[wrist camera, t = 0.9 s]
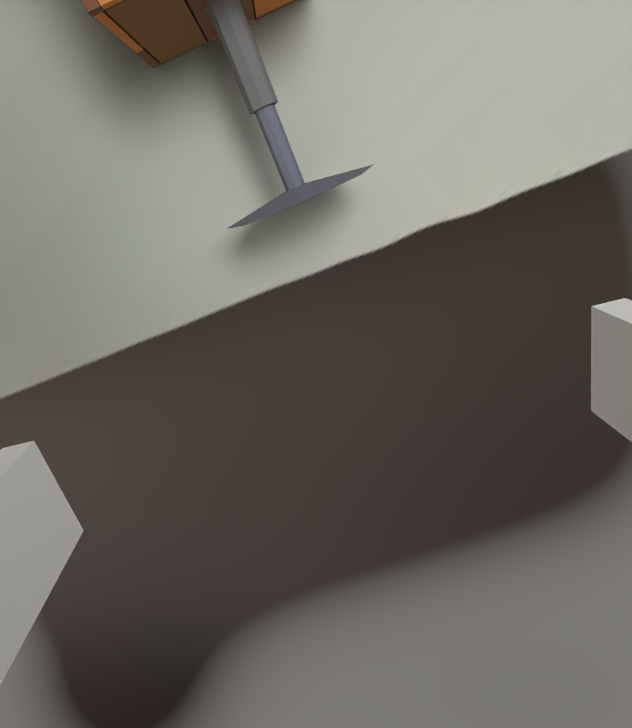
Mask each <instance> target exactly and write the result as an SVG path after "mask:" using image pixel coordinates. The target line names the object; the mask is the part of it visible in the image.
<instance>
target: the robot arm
mask: <svg viewBox="0 0 632 728" xmlns="http://www.w3.org/2000/svg"><path fill="white" fill-rule="evenodd" d="M591 346H592V347H591V350H592V351H591V411H592V412H594V413H595V414H596V415H597V416H599V417H600V418H601V419H603V420H604V421H605V422H607V423H608V424H609V425H610V426H612V427H613V428H614V429H616V430H617V431H618V432H619V433H621V434H622V435H624V436H625V437H626V438H627V439H628V440H630V441H631V442H632V301H631V300H629V299H626V298H624V299H620V300H616V301H611V302H607V303H603V304H599V305H595V306H592V340H591ZM82 532H83V529H82V527H81V525H80V523H79V522H78V520H77V518H76V516H75V514H74V513H73V511H72V509H71V507H70V505H69V503H68V502H67V500H66V498H65V496H64V494H63V492H62V491H61V489H60V487H59V485H58V483H57V482H56V480H55V478H54V476H53V474H52V473H51V471H50V469H49V467H48V465H47V463H46V462H45V460H44V458H43V456H42V454H41V453H40V451H39V449H38V447H37V445H36V444H35V442H34V441H30V442H27V443H22V444H18V445H14V446H10V447H6V448H2V449H1V450H0V685H1V683H2V681H3V679H4V677H5V675H6V673H7V672H8V670H9V668H10V666H11V664H12V662H13V661H14V659H15V657H16V655H17V653H18V651H19V649H20V648H21V646H22V644H23V642H24V640H25V638H26V636H27V635H28V633H29V631H30V629H31V627H32V625H33V623H34V621H35V620H36V618H37V616H38V614H39V612H40V610H41V609H42V607H43V605H44V603H45V601H46V599H47V597H48V596H49V594H50V592H51V590H52V588H53V586H54V584H55V582H56V581H57V579H58V577H59V575H60V573H61V571H62V570H63V568H64V566H65V564H66V562H67V560H68V558H69V556H70V555H71V553H72V551H73V549H74V547H75V546H76V544H77V542H78V540H79V537H80V536H81V534H82Z"/></svg>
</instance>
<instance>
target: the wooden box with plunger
mask: <svg viewBox="0 0 632 728" xmlns="http://www.w3.org/2000/svg"><path fill="white" fill-rule="evenodd" d="M294 1H296V0H82V2H83V4H84V6H85V8H86V10H87V12H88V13H89V14H90V15H92V16H93V17H94V18H95V19H97V20H98V21H99V22H100V23H101V24H102V25H104V26H105V27H106V28H107V29H108V30H110V31H111V32H112V33H113V34H114V35H115V36H117V37H118V38H119V39H120V40H121V41H122V42H123V43H125V44H126V45H127V46H128V47H129V48H131V49H132V50H133V51H134V52H135V53H137V54H138V55H139V56H140V57H142V58H143V59H144V60H145V61H146V62H148V63H149V64H150V65H151V66H152V67H156V66H158V65H160V64H163V63H165V62H167V61H169V60H171V59H173V58H176V57H178V56H180V55H182V54H184V53H186V52H188V51H190V50H192V49H195V48H197V47H199V46H201V45H203V44H205V43H207V40H206V38H207V39H208V41H212V40H214V39H216V38H218V37H219V38H220V41H221V43H222V46H223V48H224V51H225V53H226V56H227V58H228V61H229V63H230V65H231V68H232V70H233V73H234V75H235V78H236V80H237V83H238V85H239V87H240V90H241V92H242V95H243V97H244V100H245V102H246V105H247V107H248V110H249V112H250V114H255V115H256V117H257V120H258V122H259V125H260V127H261V130H262V132H263V134H264V137H265V139H266V142H267V144H268V147H269V149H270V152H271V154H272V157H273V159H274V162H275V164H276V167H277V169H278V172H279V174H280V177H281V179H282V181H283V184H284V186H285V189H286V192H285V193H283V194H281V195H280V196H278V197H277V198H275V199H273V200H272V201H270V202H269V203H267V204H265V205H264V206H262V207H261V208H259V209H257V210H256V211H254V212H253V213H251V214H250V215H248V216H246V217H245V218H243V219H242V220H240V221H238V222H237V223H235V224H234V225H232V226H230V227H229V228H233V227H238V226H243V225H246V224H249V223H251V222H254V221H256V220H259V219H261V218H264V217H266V216H269V215H271V214H274V213H276V212H279V211H281V210H284V209H286V208H289V207H291V206H294V205H296V204H299V203H301V202H304V201H306V200H308V199H310V198H312V197H314V196H317V195H319V194H321V193H323V192H325V191H327V190H329V189H331V188H334V187H336V186H338V185H340V184H342V183H344V182H346V181H348V180H350V179H353V178H355V177H357V176H359V175H361V174H362V173H364V172H365V171H366V170H367V169H369V168H370V167H371V166H373V165H371V166H367V167H363V168H359V169H356V170H352V171H348V172H345V173H341V174H337V175H334V176H330V177H326V178H322V179H319V180H315V181H311V182H308V183H304V180H303V178H302V175H301V173H300V170H299V168H298V165H297V162H296V160H295V157H294V155H293V152H292V149H291V147H290V144H289V142H288V139H287V136H286V134H285V131H284V129H283V126H282V124H281V121H280V118H279V116H278V113H277V111H276V108H275V104H276V103H277V102H278V101H277V98H276V95H275V93H274V90H273V87H272V85H271V82H270V80H269V77H268V74H267V72H266V69H265V67H264V64H263V61H262V59H261V56H260V54H259V51H258V48H257V46H256V43H255V41H254V38H253V35H252V33H251V30H250V27H249V25H248V23H250V22H252V21H254V20H255V17H256V19H258V18H260V17H262V16H265V15H267V14H269V13H271V12H273V11H275V10H277V9H279V8H281V7H284V6H286V5H288V4H290V3H292V2H294ZM254 15H255V17H254ZM205 36H206V38H205Z"/></svg>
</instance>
